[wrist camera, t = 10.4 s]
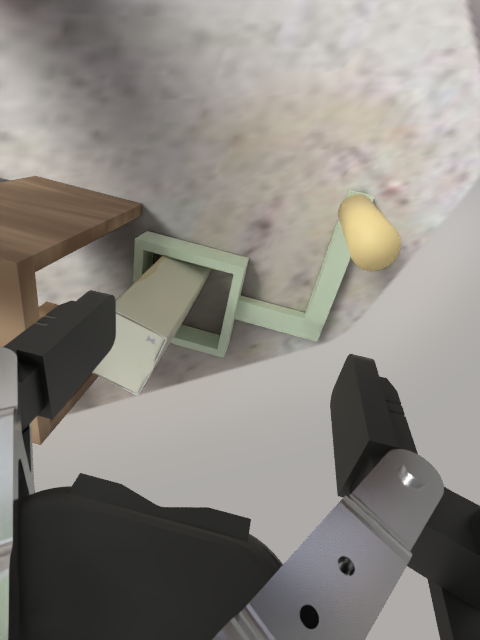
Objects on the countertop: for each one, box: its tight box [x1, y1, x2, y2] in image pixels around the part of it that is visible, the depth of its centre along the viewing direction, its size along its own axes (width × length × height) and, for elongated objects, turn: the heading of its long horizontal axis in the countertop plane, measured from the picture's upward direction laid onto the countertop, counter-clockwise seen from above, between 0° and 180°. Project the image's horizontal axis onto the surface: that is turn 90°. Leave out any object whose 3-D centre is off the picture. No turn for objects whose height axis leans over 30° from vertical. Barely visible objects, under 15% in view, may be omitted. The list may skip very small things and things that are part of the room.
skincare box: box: [92, 255, 211, 395], centre depth 28 cm, size 6×4×12 cm
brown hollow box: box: [0, 176, 142, 445], centre depth 28 cm, size 14×10×15 cm
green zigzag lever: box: [132, 189, 401, 358], centre depth 27 cm, size 17×18×10 cm
